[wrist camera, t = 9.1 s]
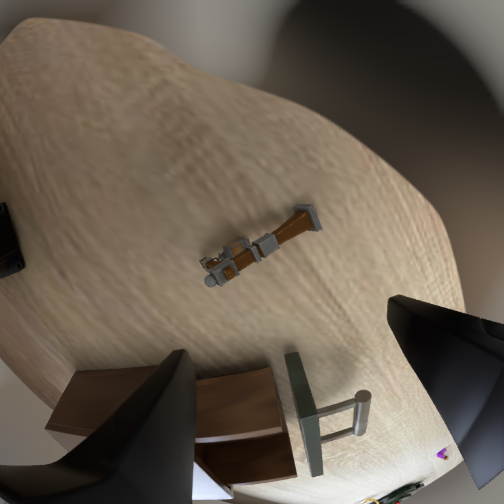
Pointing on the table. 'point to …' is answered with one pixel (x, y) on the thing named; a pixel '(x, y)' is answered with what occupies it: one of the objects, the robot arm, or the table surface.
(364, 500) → the ring
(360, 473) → the table surface
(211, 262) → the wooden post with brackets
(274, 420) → the drawer
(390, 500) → the clover-shaped pad
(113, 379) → the cabinet
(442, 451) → the purple and gold rod
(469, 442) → the robot arm
